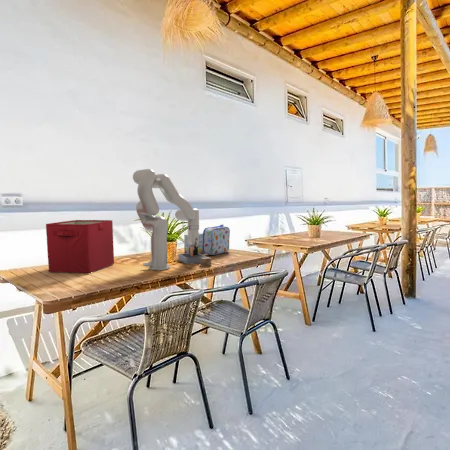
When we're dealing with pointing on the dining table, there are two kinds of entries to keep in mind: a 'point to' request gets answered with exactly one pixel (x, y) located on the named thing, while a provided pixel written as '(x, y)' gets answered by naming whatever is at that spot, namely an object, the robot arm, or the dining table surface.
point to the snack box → (200, 247)
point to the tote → (190, 258)
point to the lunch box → (216, 240)
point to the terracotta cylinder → (191, 251)
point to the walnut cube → (205, 261)
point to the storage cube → (80, 245)
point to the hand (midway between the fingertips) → (194, 254)
